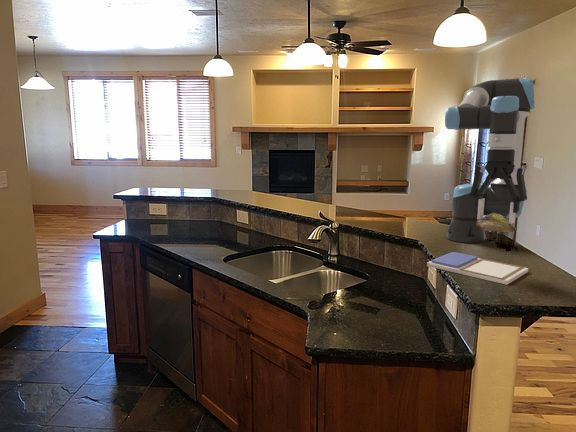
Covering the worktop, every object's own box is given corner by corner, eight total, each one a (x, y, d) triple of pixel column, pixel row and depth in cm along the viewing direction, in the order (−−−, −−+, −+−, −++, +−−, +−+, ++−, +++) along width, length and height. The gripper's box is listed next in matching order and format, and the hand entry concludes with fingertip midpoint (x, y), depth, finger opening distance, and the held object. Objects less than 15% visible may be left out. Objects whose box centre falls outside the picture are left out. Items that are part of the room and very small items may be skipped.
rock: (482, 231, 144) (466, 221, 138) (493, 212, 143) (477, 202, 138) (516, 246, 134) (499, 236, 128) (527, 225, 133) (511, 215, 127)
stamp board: (451, 255, 158) (451, 250, 158) (527, 271, 139) (528, 265, 139) (426, 265, 147) (427, 260, 146) (507, 284, 128) (507, 278, 128)
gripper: (461, 148, 137) (456, 217, 142) (535, 149, 122) (528, 227, 126) (471, 147, 142) (467, 214, 147) (544, 148, 127) (537, 224, 131)
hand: (495, 220), depth 136 cm, fingers closed on rock, 9 cm apart
